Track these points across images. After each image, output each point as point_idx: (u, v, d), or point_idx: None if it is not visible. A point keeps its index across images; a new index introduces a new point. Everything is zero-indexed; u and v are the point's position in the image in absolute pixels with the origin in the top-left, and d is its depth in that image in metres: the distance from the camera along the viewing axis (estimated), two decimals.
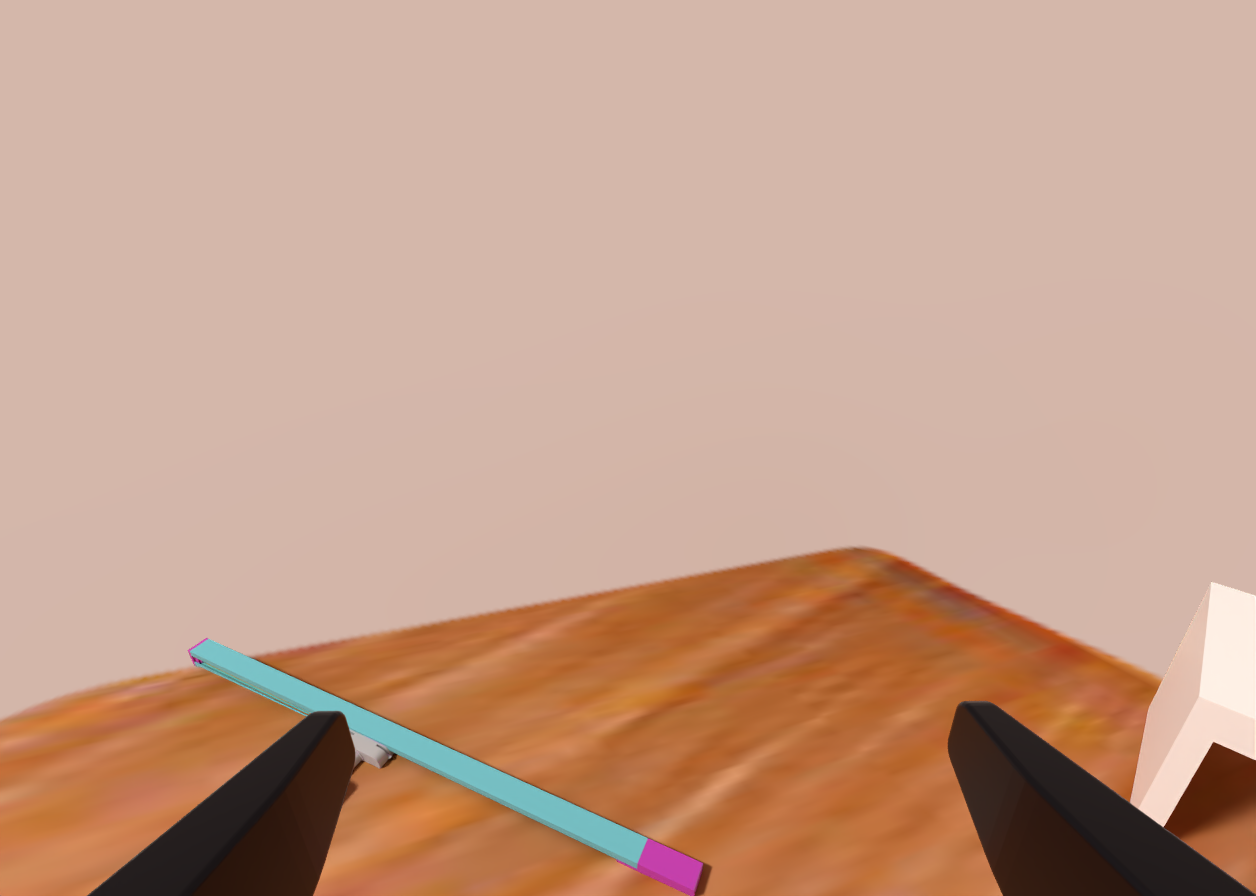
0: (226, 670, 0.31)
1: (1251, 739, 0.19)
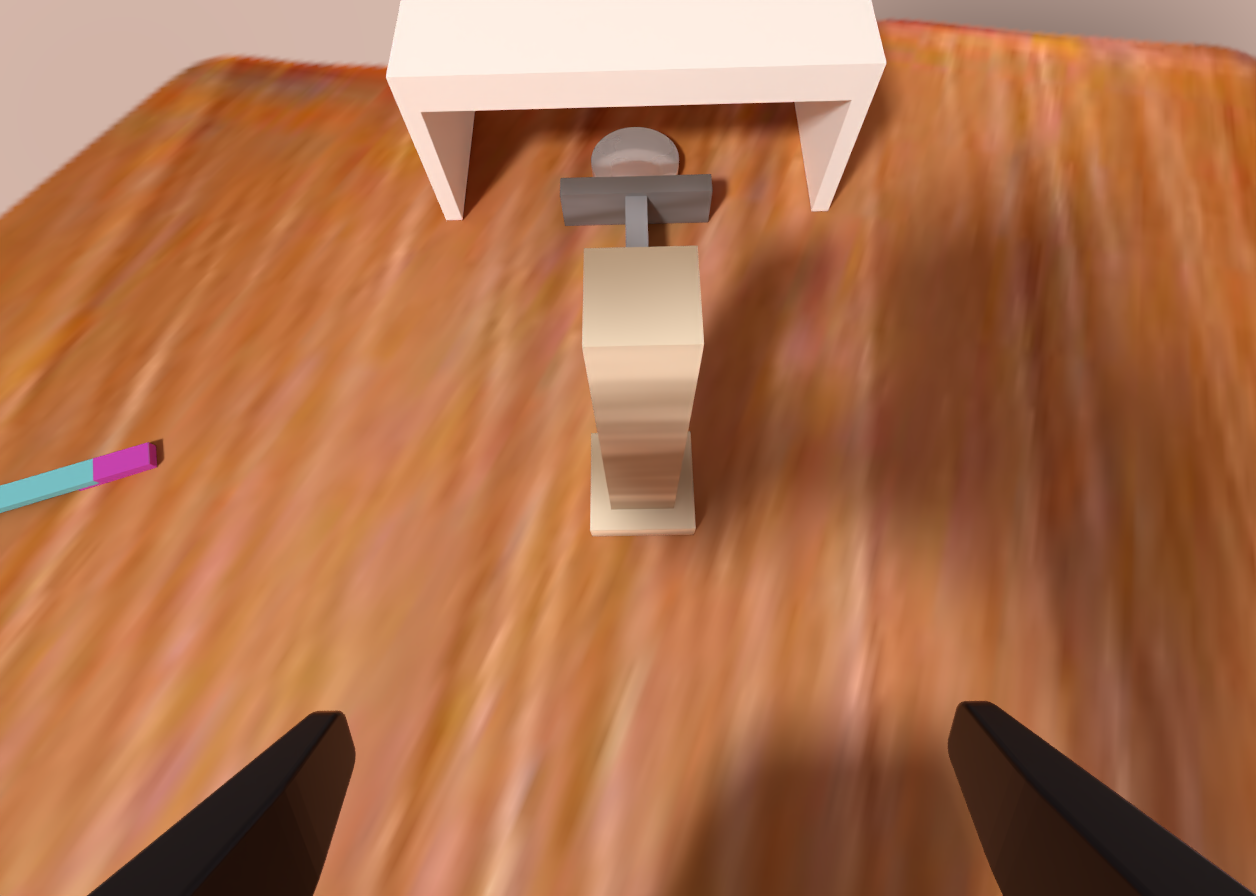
0: None
1: (432, 95, 0.23)
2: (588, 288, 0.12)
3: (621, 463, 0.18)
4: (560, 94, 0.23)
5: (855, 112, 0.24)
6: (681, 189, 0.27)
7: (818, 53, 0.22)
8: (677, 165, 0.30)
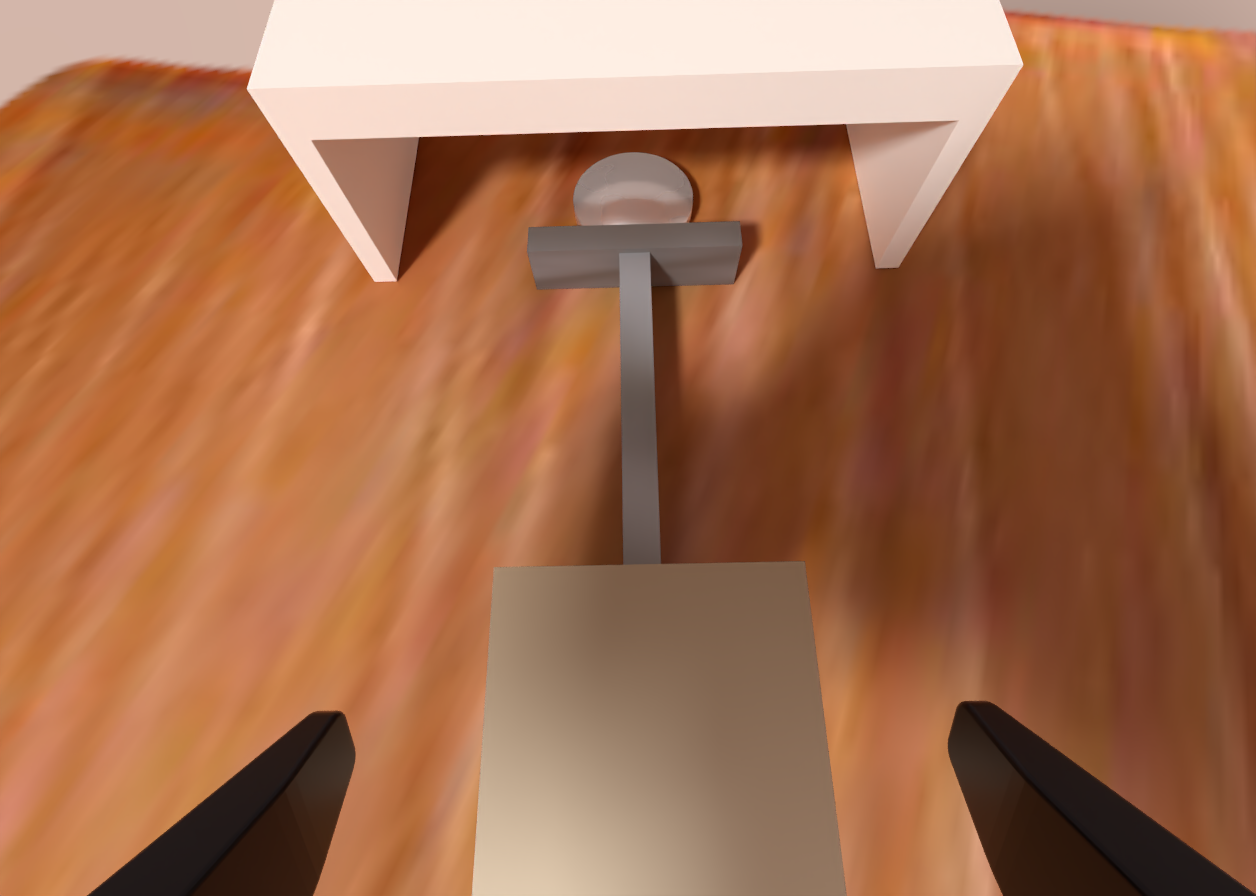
0: None
1: (324, 115, 0.15)
2: (499, 712, 0.04)
3: None
4: (518, 113, 0.15)
5: (961, 138, 0.16)
6: (698, 243, 0.19)
7: (915, 49, 0.15)
8: (690, 205, 0.22)
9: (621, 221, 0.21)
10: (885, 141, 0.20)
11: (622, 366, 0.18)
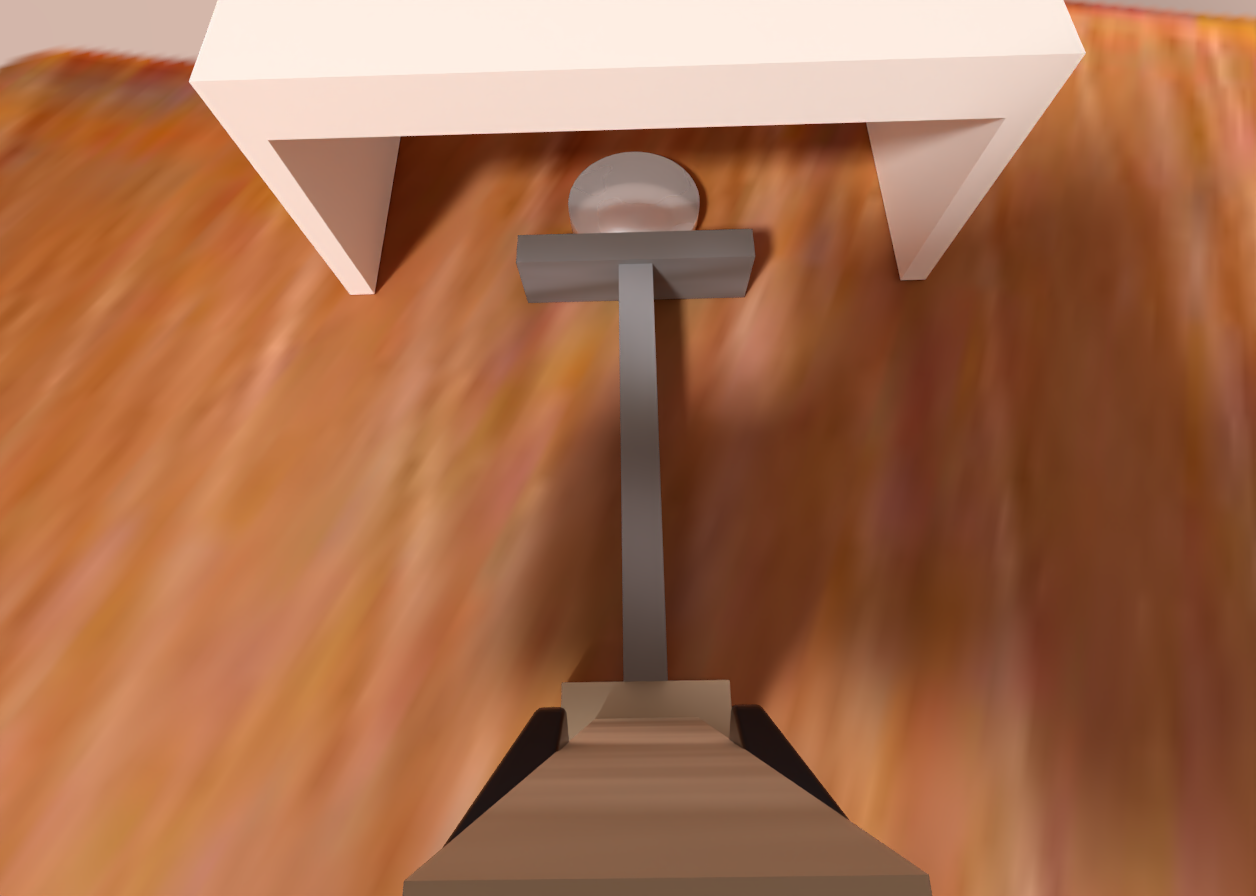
0: None
1: (280, 112, 0.13)
2: None
3: None
4: (503, 110, 0.13)
5: (1006, 138, 0.14)
6: (706, 253, 0.17)
7: (960, 36, 0.13)
8: (697, 211, 0.20)
9: (621, 228, 0.20)
10: (913, 140, 0.18)
11: (621, 393, 0.16)
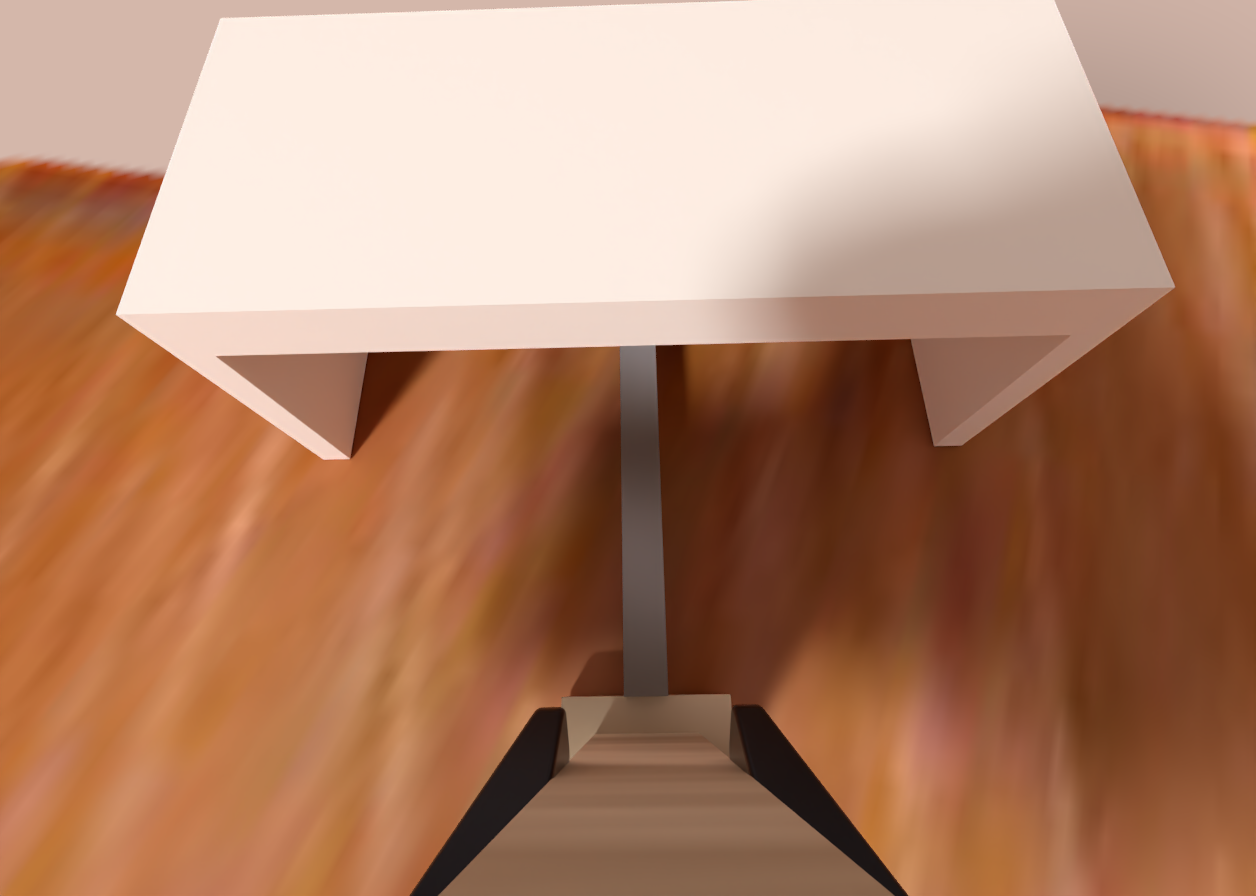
0: None
1: (227, 336, 0.11)
2: None
3: None
4: (487, 333, 0.11)
5: (1069, 349, 0.12)
6: None
7: (1024, 261, 0.11)
8: None
9: None
10: None
11: (622, 405, 0.16)
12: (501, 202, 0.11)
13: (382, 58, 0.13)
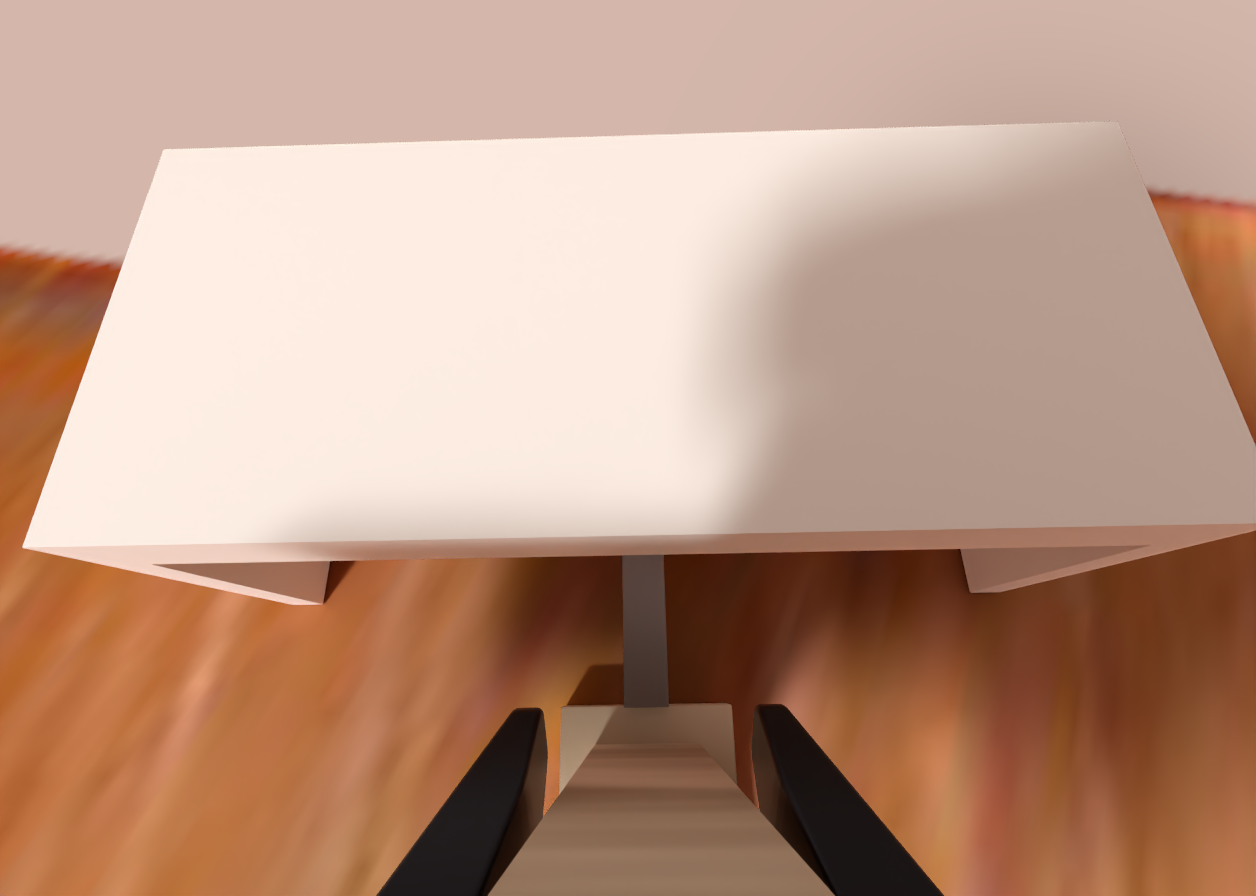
0: None
1: (160, 555, 0.10)
2: None
3: None
4: (467, 550, 0.10)
5: (1145, 551, 0.11)
6: None
7: (1105, 485, 0.09)
8: None
9: None
10: None
11: None
12: (483, 397, 0.10)
13: (347, 203, 0.11)
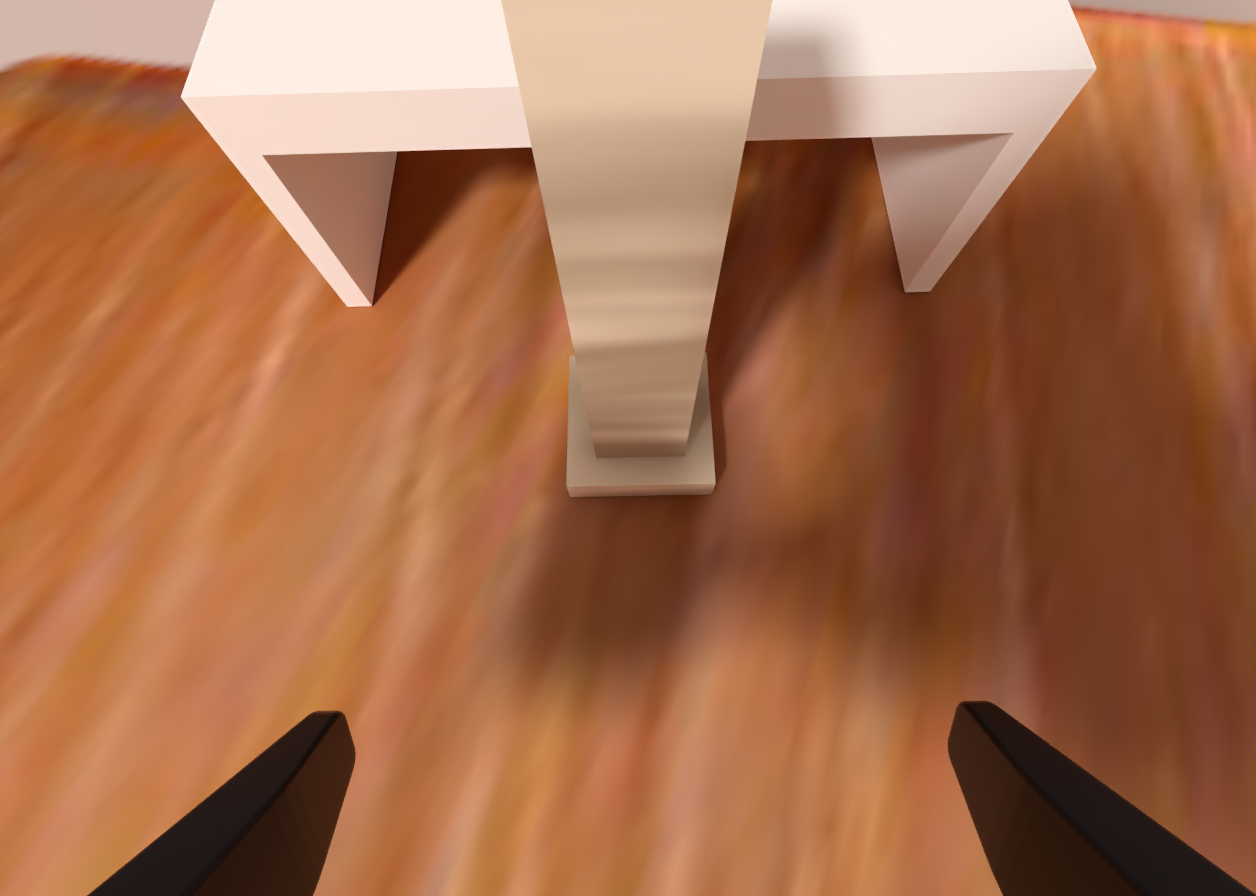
0: None
1: (274, 127, 0.13)
2: None
3: (605, 365, 0.11)
4: (501, 125, 0.13)
5: (1014, 152, 0.14)
6: None
7: (968, 50, 0.12)
8: None
9: None
10: (918, 151, 0.18)
11: None
12: None
13: None
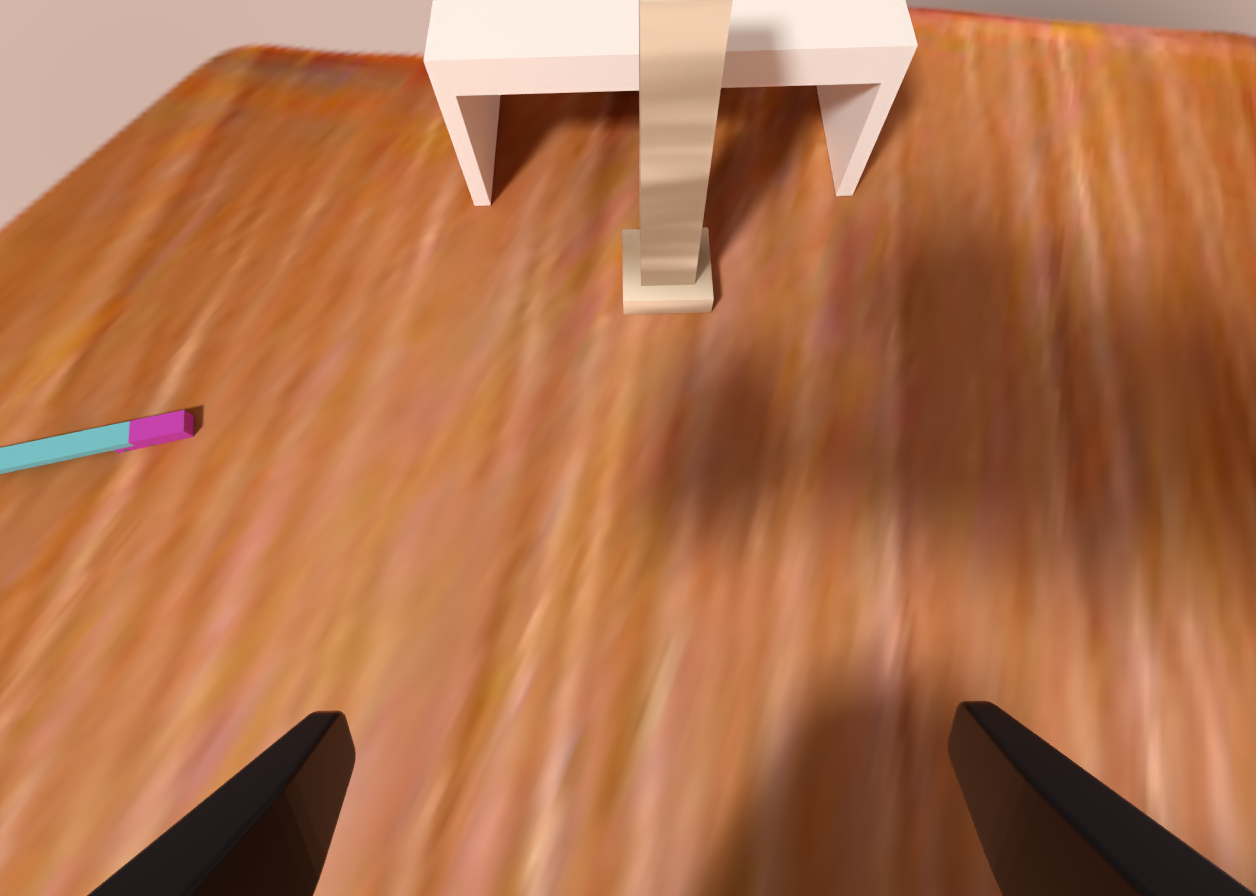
0: None
1: (468, 79, 0.24)
2: None
3: (655, 198, 0.22)
4: (594, 77, 0.24)
5: (884, 95, 0.24)
6: None
7: (850, 36, 0.23)
8: None
9: None
10: (841, 103, 0.28)
11: None
12: (601, 14, 0.24)
13: None
